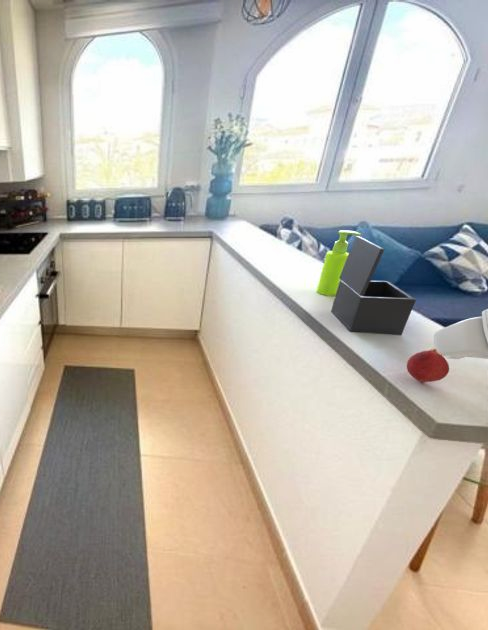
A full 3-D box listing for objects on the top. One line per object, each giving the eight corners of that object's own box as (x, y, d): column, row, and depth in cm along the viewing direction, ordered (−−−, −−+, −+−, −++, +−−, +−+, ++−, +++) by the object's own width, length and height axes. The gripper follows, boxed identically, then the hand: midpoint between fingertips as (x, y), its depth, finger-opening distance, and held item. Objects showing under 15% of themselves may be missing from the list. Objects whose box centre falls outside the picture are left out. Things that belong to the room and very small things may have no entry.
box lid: (359, 236, 90) (356, 235, 90) (384, 249, 79) (380, 248, 80) (342, 278, 96) (338, 278, 96) (363, 296, 85) (359, 295, 85)
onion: (412, 389, 69) (427, 355, 65) (394, 372, 74) (408, 340, 70) (447, 391, 67) (465, 357, 64) (427, 374, 72) (443, 341, 69)
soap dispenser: (339, 298, 107) (359, 234, 99) (314, 292, 112) (330, 231, 104) (344, 292, 111) (363, 230, 102) (319, 287, 116) (335, 228, 107)
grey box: (376, 313, 97) (388, 281, 93) (401, 334, 86) (416, 299, 82) (330, 311, 100) (340, 279, 96) (349, 331, 89) (361, 297, 85)
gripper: (688, 314, 42) (565, 343, 55) (475, 306, 47) (408, 333, 60) (710, 365, 40) (577, 382, 53) (485, 350, 46) (414, 369, 58)
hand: (485, 356), depth 57 cm, fingers open, 8 cm apart
